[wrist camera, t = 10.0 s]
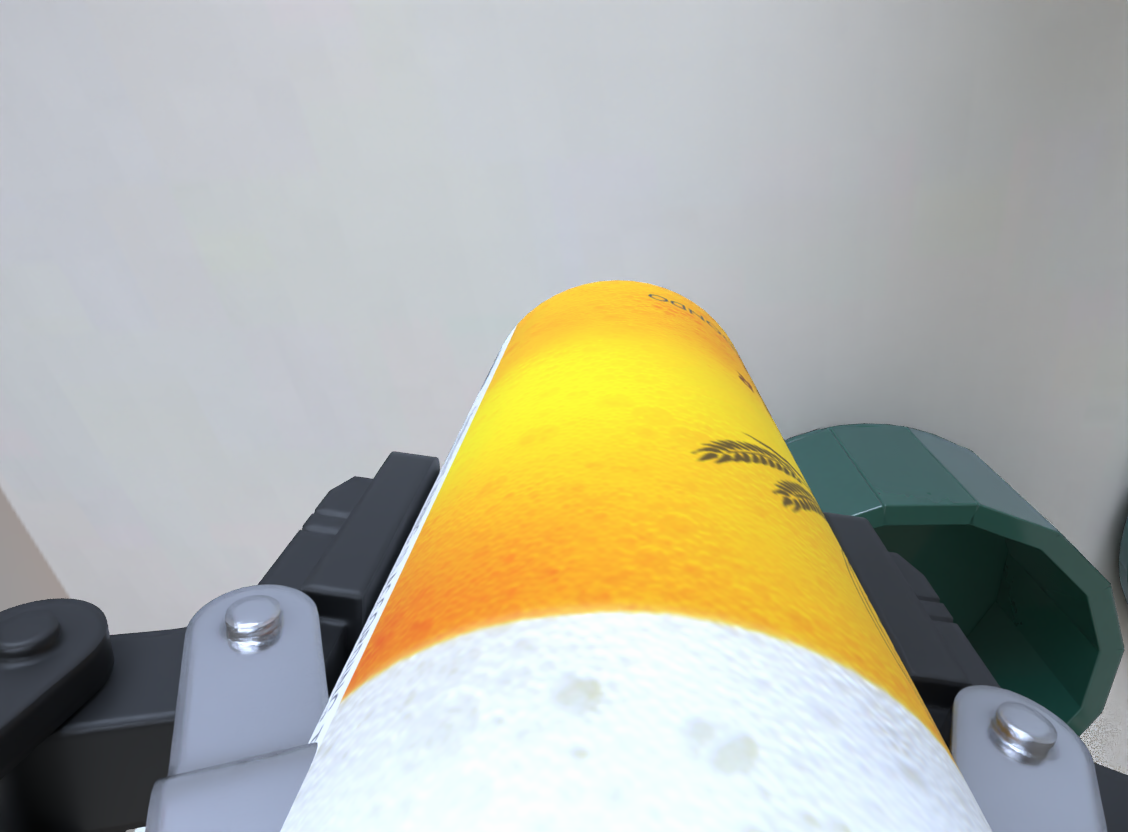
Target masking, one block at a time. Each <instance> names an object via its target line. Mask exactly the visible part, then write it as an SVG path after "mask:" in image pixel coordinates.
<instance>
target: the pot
mask: <svg viewBox="0 0 1128 832" xmlns="http://www.w3.org/2000/svg"><path fill="white" fill-rule="evenodd" d="M785 443H786V445H787V447H788V449H789V451H790V452H791V454H792V456H793V458H794V460H795V462H796V464H797V466H798V467H799V469H800V471H801V473H802V475H803V477H804V479H805V481H806V482H807V484H808V486H809V488H810V490H811V492H812V494H813V496H814V498H815V499H816V501H817V503H818V505H819V507H820V509H821V511H822V512H827V513H835V514H842V515H849V516H856V517H863V518H866V519H867V520H868V521H869V522H870V524H871V525H872V527H873V529H874V530H875V532H876V533H877V535H878V536H879V538H880V540H881V541H882V543H883V544H884V546H885V547H886V549H887V551H888V552H894V553H898V554H899V555H900V556H901V557H902V558H904V559H905V560H906V561H907V562H909V563H910V564H911V565H912V566H913V567H915V568H916V569H917V570H918V571H919V572H921V573H922V574H923V575H924V576H925V578H926V579H927V581H928V582H929V583H930V585H931V586H932V588H933V589H934V591H935V592H936V594H937V595H938V597H939V598H940V600H939V601H940V603H943V604H944V605H945V607H946V608H947V610H948V611H949V613H950V614H951V616H952V617H953V623H956V624H958V626H959V627H960V629H961V630H962V632H963V633H964V635H965V636H966V638H967V639H968V641H969V642H970V644H971V645H972V646H973V648H974V649H975V651H976V652H977V654H978V655H979V657H980V658H981V660H982V661H983V663H984V664H985V666H986V667H987V668H988V670H989V671H990V673H991V674H992V676H993V677H994V679H995V680H996V682H997V683H998V685H999V686H1000V687H1001V688H1002V689H1006V690H1009V691H1012V692H1015V693H1017V694H1020V695H1022V696H1024V697H1026V698H1028V699H1030V700H1032V701H1034V702H1036V703H1038V704H1039V705H1041V706H1043V707H1044V708H1046V709H1047V710H1049V711H1050V712H1052V713H1053V714H1055V715H1056V716H1057V717H1059V718H1060V719H1061V720H1062V721H1064V722H1065V723H1066V724H1067V725H1068V726H1069V727H1070V728H1071V729H1072V730H1073V731H1074V732H1075V733H1076V734H1077V735H1078V736H1080V735H1081V734H1082V733H1083V732H1084V731H1085V730H1086V729H1087V728H1088V727H1089V726H1090V725H1091V724H1092V723H1093V722H1094V721H1095V720H1096V719H1097V717H1098V716H1099V715H1100V714H1101V713H1102V711H1103V709H1104V706H1105V703H1106V701H1107V698H1108V695H1109V692H1110V689H1111V687H1112V684H1113V681H1114V678H1115V675H1116V672H1117V670H1118V667H1119V664H1120V661H1121V658H1122V655H1123V653H1124V644H1123V639H1122V635H1121V630H1120V625H1119V621H1118V616H1117V611H1116V607H1115V602H1114V597H1113V592H1112V588H1111V584H1110V583H1109V582H1108V581H1107V580H1106V579H1105V578H1104V577H1103V576H1102V574H1101V573H1100V572H1099V571H1098V570H1097V569H1096V568H1095V567H1094V566H1093V565H1092V564H1091V563H1090V562H1089V561H1088V560H1087V559H1086V558H1085V557H1084V556H1083V555H1082V554H1081V553H1080V552H1079V551H1078V550H1077V549H1076V548H1075V547H1074V546H1073V545H1072V544H1071V543H1070V542H1069V541H1068V540H1067V539H1066V538H1065V537H1064V536H1063V535H1062V534H1061V533H1060V532H1059V531H1058V530H1057V529H1056V528H1055V527H1054V526H1053V525H1052V524H1051V523H1050V522H1048V521H1047V520H1046V519H1045V518H1044V517H1043V516H1042V515H1041V514H1040V513H1039V512H1038V511H1037V510H1035V509H1034V508H1033V507H1032V506H1031V505H1030V504H1029V503H1028V502H1027V501H1026V500H1025V499H1024V498H1022V497H1021V496H1020V495H1019V494H1018V493H1017V492H1016V491H1015V490H1014V489H1013V488H1012V487H1011V486H1009V485H1008V484H1007V483H1006V482H1005V481H1004V480H1003V479H1002V478H1001V477H1000V476H999V475H998V474H996V473H995V472H994V471H993V470H992V469H991V468H990V467H989V466H988V465H987V464H986V463H985V462H983V461H982V460H981V459H980V458H979V457H978V456H977V455H976V454H975V453H974V452H973V451H971V450H970V449H967V448H964V447H962V446H959V445H957V444H955V443H953V442H950V441H948V440H946V439H944V438H941V437H939V436H937V435H935V434H931V433H928V432H924V431H921V430H917V429H914V428H909V427H904V426H896V425H890V424H865V423H864V424H851V425H839V426H834V427H829V428H824V429H819V430H814V431H811V432H808V433H805V434H801V435H798V436H795V437H792V438H790V439H787V440H785Z"/></svg>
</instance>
